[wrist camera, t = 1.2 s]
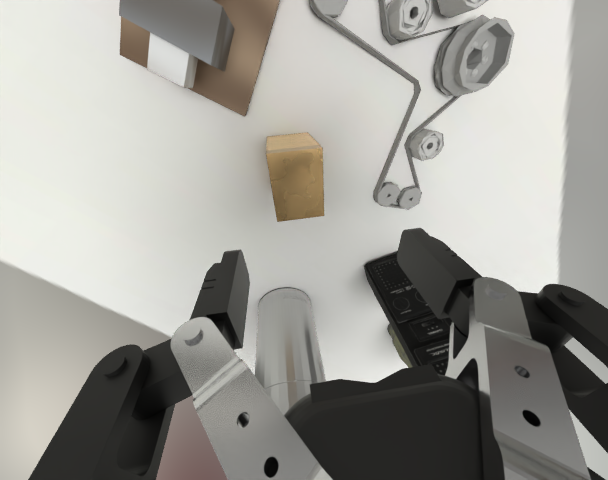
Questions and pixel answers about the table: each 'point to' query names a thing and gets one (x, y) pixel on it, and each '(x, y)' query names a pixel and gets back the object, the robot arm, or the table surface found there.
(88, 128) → the table surface
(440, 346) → the portable radio
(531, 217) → the table surface
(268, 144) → the tan rectangular block
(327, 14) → the pulley system
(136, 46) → the shaft mount
